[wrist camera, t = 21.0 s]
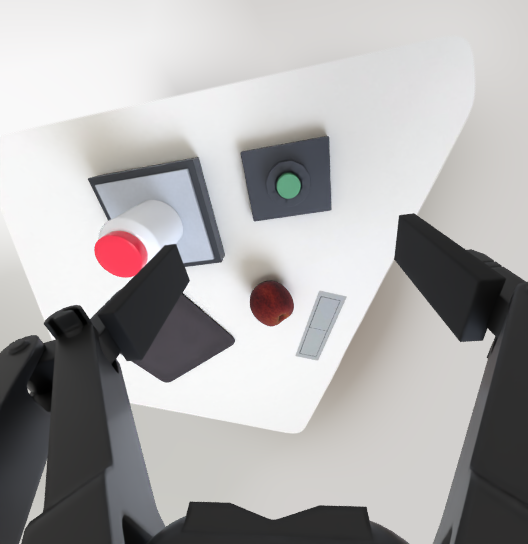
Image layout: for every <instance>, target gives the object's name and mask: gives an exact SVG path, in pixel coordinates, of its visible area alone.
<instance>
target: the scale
mask: <svg viewBox="0 0 528 544" xmlns="http://www.w3.org/2000/svg"><path fill="white" fill-rule="evenodd" d="M88 180H89V182H90V184H91V186H92V188H93V190H94V192H95V194H96V196H97V198H98V200H99V203H100V205H101V207H102V209H103V211H104V213H105V215H106V217H107V219H108V221H109V220H111V219H112V218H114V217H116V216H118V215H120V214H121V213H123V212H125V211H127V210H129V209H130V208H132V207H134V206H136V205H138V204H139V203H141V202H144V201H147V200H157V201H161V202H164V203H166V204H167V205H169V206H170V207H172V208H173V209H174V210H175V211H176V212H177V214H178V215H179V217H180V219H181V221H182V225H183V234H182V237H181V239H180V241H179V242H178V243H177V244H176V245H177V248H178V250H179V253H180V256H181V258H182V261H183V264H184V267H187V266H195V265H203V264H211V263H219V262H222V260H223V258H224V256H225V253H224V250H223V246H222V242H221V239H220V235H219V231H218V228H217V224H216V220H215V217H214V213H213V209H212V206H211V202H210V198H209V195H208V191H207V187H206V183H205V180H204V176H203V172H202V169H201V165H200V161H199V158H198V157H197V158H191V159H186V160H180V161H175V162H169V163H164V164H159V165H153V166H148V167H142V168H137V169H131V170H126V171H120V172H115V173H109V174H104V175H99V176H95V177H92V178H88Z"/></svg>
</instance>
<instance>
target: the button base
mask: <svg viewBox="0 0 528 544" xmlns="http://www.w3.org/2000/svg"><path fill="white" fill-rule="evenodd" d="M241 157H242V162H243V168H244V173H245V178H246V183H247V188H248V194H249V199H250V204H251V209H252V214H253V219H254V221H260V220H267V219H274V218H281V217H288V216H295V215H302V214H309V213H316V212H323V211H329V210H331V184H330V154H329V137H328V136H325V137H319V138H314V139H308V140H303V141H297V142H292V143H286V144H281V145H275V146H270V147H264V148H259V149H253V150H248V151H242V152H241ZM284 173H293V174H295V175H296V176H297V177H298V178H299V181H300V185H301V187H300V191H299V193H298V194H297V195H296V196H295V197H293V198H290V199H287V198H283V197H282V196H280V194H279V193H278V191H277V181H278V179H279V177H280V176H281V175H282V174H284Z"/></svg>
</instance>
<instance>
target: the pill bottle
mask: <svg viewBox="0 0 528 544" xmlns="http://www.w3.org/2000/svg"><path fill="white" fill-rule="evenodd" d="M182 234H183V225H182V221H181V219H180V217H179V215H178V214H177V212H176V211H175V210H174V209H173V208H172V207H170V206H169V205H167V204H166V203H164V202H161V201H157V200H147V201H144V202H141V203H139V204H138V205H136V206H134V207H132V208H130V209H129V210H127V211H125V212H123V213H121V214H120V215H118V216H116V217H114V218H112V219H111V220H109V221H107V222H106V223H105V224H104V225H103V226H102V228H101V230H100V232H99V240H98V241H97V242H96V244H95V250H94V251H95V256H96V258H97V260H98V262H99V263H100V265H101V266H102V267H103V268H104V269H105V270H107V271H108V272H109V273H111V274H113V275H116V276H119V277H132V276H135V275H136V274H137V273H138V272H139V271H140V270H141V269H142V268H143V267H144V266H145V265H146V264H147V263H148V262H149V261H150V260H151V259H152V258H153V257H154V256H155V255H156V254H157V253H158V252H159V251H160V250H161V249H162V248H163V247H164V245H171V244H177V243H178V242H179V241H180V239H181V237H182Z"/></svg>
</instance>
